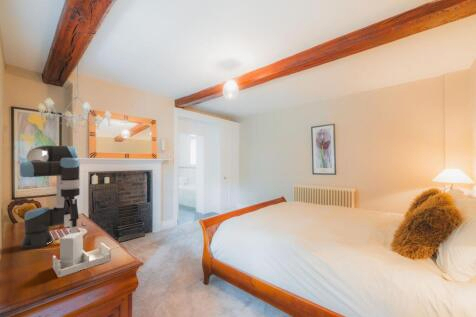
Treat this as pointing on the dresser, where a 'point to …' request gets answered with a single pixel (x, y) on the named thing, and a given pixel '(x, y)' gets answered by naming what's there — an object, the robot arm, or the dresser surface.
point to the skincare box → (71, 250)
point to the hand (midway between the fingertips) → (70, 229)
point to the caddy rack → (84, 261)
